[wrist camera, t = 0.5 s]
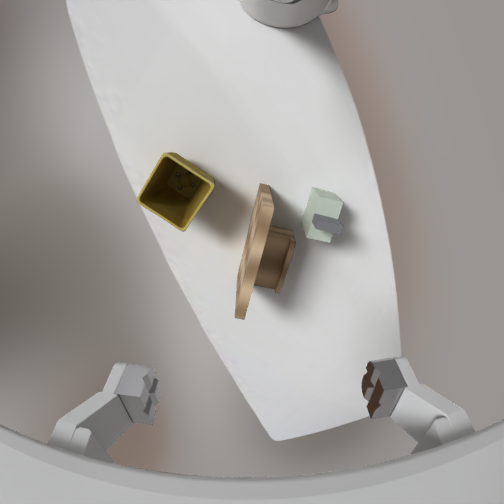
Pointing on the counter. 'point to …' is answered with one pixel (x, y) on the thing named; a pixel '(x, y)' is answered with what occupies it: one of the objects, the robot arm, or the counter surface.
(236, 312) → the wall board
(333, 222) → the pale green box
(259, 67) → the counter surface
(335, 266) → the counter surface
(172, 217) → the flower pot
